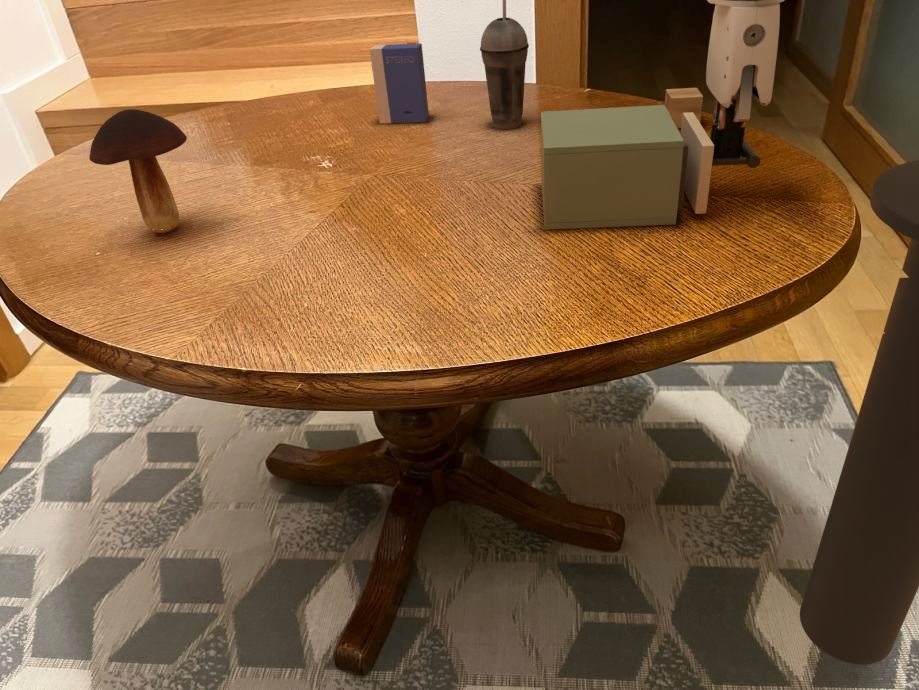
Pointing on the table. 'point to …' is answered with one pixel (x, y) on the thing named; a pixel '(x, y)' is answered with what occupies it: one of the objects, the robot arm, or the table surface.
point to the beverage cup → (505, 69)
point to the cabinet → (610, 167)
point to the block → (683, 103)
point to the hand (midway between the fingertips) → (723, 160)
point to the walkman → (400, 83)
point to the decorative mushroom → (142, 160)
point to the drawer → (703, 163)
